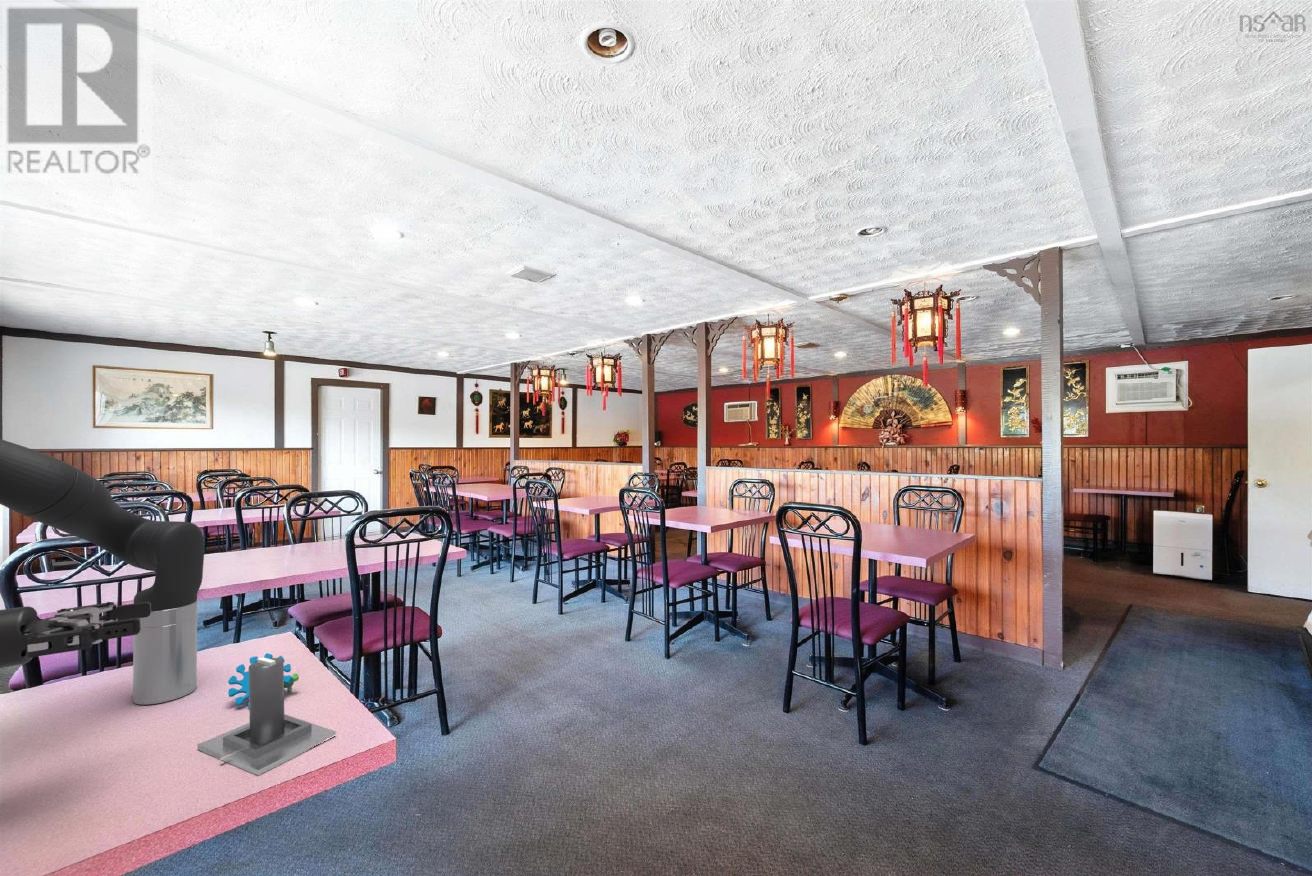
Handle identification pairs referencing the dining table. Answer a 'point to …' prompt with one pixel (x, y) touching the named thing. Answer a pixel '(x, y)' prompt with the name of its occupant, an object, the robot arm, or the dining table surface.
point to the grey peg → (266, 699)
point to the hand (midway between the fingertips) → (145, 616)
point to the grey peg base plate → (265, 745)
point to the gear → (245, 681)
